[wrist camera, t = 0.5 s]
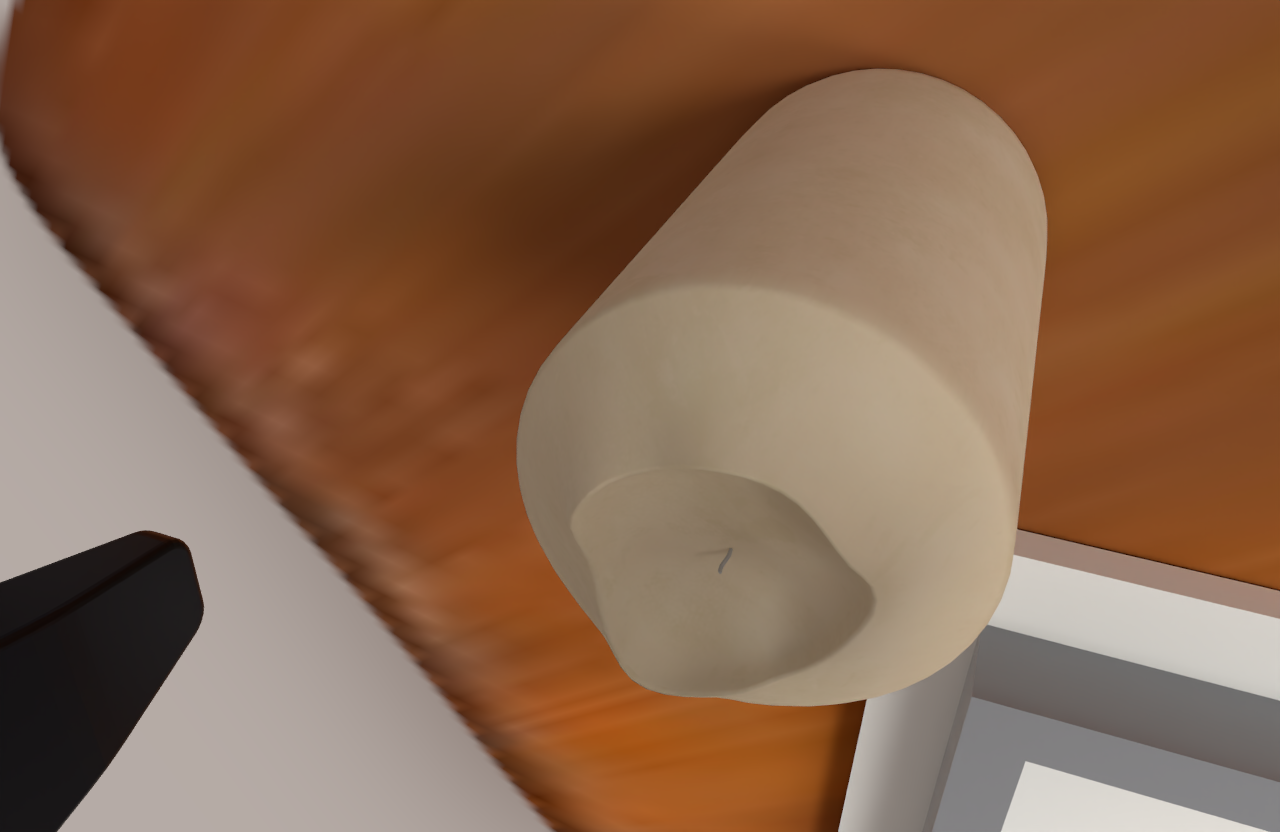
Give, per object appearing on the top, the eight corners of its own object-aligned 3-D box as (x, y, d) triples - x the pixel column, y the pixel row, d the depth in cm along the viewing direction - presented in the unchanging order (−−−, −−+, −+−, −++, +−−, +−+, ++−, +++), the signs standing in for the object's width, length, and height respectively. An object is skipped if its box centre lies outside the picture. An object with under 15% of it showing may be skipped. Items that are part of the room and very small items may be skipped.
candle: (906, 423, 20) (778, 873, 12) (667, 249, 20) (382, 591, 12) (1127, 201, 17) (1149, 622, 9) (842, -10, 17) (606, 227, 9)
